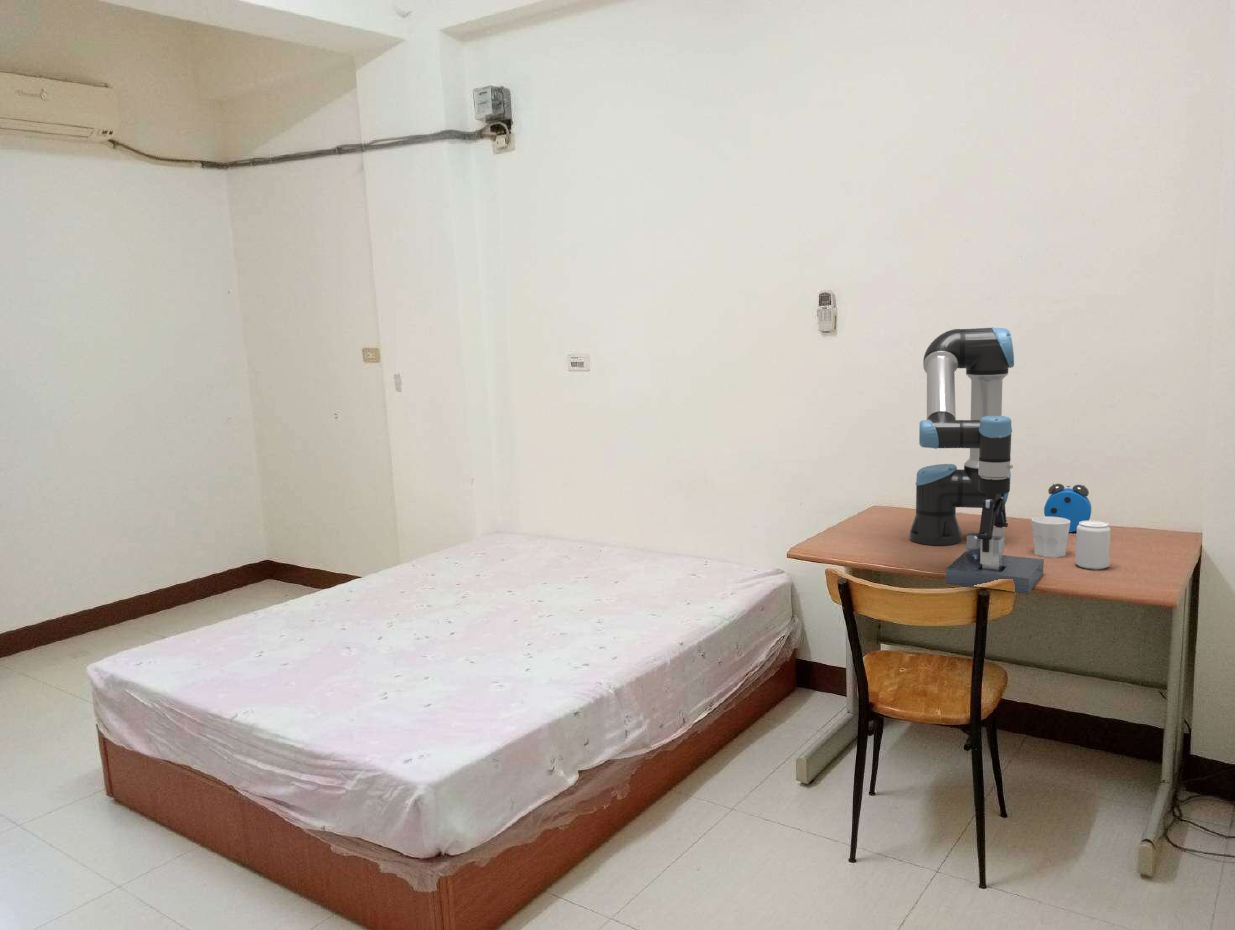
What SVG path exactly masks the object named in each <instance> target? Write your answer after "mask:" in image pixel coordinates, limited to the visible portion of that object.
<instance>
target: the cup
mask: <svg viewBox="0 0 1235 930" xmlns="http://www.w3.org/2000/svg"><path fill="white" fill-rule="evenodd" d="M1030 520H1031V529H1032V536H1033V552H1034V555H1036V556H1040V557H1043V558H1057V559H1058V558H1061V557H1066V553H1067V544H1068V539H1069V533H1070V532H1069V527H1070V520H1068V519H1065V518H1060V517H1048V516H1046V517H1045V516H1036V517H1032V518H1031V519H1030Z"/></svg>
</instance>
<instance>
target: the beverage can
mask: <svg viewBox="0 0 1235 930" xmlns="http://www.w3.org/2000/svg"><path fill="white" fill-rule="evenodd" d="M1075 537H1076V540H1075V541H1076V542H1075V564H1076V565H1077V566H1079V567H1080V568H1082V569H1086V570H1095V571H1098V570H1104V569H1106V568H1108V567H1109V566H1110V555H1111V553H1110V552H1111V527H1110V524H1109V523H1108V522H1104V521H1101V520H1100V521H1099V520H1089V521H1081V522H1079V525H1078V526H1077V531H1076V535H1075Z"/></svg>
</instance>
